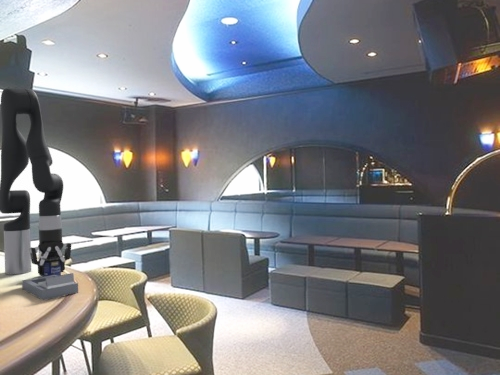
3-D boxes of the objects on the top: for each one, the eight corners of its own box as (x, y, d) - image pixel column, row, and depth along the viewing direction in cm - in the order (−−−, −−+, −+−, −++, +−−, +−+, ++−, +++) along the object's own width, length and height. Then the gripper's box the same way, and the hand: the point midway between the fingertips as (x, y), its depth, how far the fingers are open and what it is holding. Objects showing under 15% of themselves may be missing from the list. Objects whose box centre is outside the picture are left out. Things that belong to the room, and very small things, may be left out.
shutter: (38, 284, 125) (37, 274, 125) (64, 280, 131) (63, 270, 131) (47, 289, 120) (47, 278, 120) (74, 283, 125) (73, 273, 125)
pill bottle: (53, 283, 139) (52, 252, 139) (38, 282, 141) (37, 252, 141) (64, 278, 146) (63, 249, 145) (50, 278, 147) (49, 249, 147)
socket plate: (22, 289, 132) (22, 280, 132) (55, 282, 140) (55, 274, 140) (43, 300, 119) (42, 290, 119) (78, 292, 126) (78, 283, 126)
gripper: (32, 230, 135) (33, 279, 135) (74, 226, 145) (76, 271, 146) (25, 229, 140) (26, 275, 140) (66, 225, 151) (67, 268, 151)
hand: (51, 273), depth 143 cm, fingers closed on pill bottle, 6 cm apart
